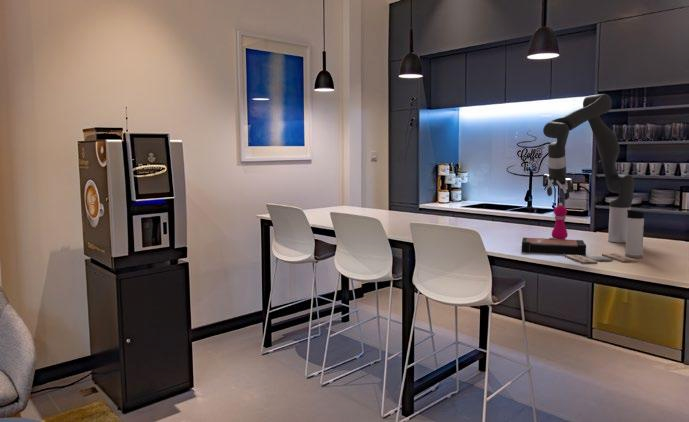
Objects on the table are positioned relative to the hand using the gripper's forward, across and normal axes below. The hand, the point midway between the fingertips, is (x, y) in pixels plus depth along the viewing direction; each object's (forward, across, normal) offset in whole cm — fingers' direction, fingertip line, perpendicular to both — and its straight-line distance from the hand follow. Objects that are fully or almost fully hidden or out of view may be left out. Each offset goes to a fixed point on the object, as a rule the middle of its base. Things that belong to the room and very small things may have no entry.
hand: (558, 197), depth 241 cm
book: (+19, -7, +16) cm, 26 cm away
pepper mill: (+26, +1, -1) cm, 26 cm away
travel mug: (+19, -36, +1) cm, 41 cm away
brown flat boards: (+15, -30, +17) cm, 38 cm away
